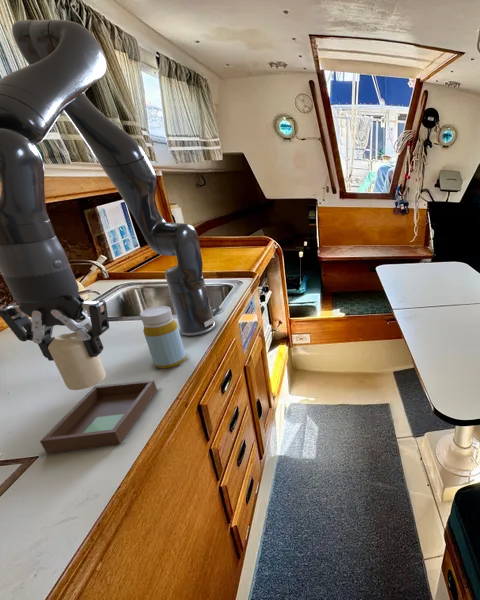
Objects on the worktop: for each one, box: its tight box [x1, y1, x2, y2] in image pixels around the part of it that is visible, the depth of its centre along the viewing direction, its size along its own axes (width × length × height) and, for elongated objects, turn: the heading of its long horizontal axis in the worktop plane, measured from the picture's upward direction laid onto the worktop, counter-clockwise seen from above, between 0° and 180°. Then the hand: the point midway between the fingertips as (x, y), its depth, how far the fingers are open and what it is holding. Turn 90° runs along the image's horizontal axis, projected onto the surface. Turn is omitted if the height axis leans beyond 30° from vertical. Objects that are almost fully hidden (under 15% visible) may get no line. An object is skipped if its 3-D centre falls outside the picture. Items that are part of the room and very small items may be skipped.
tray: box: [39, 379, 158, 454], centre depth 66 cm, size 16×12×3 cm
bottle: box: [139, 305, 187, 369], centre depth 82 cm, size 7×7×15 cm
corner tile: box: [84, 414, 124, 433], centre depth 64 cm, size 7×7×1 cm
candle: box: [48, 331, 107, 391], centre depth 58 cm, size 6×6×10 cm
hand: (76, 356), depth 58 cm, fingers closed on candle, 5 cm apart
